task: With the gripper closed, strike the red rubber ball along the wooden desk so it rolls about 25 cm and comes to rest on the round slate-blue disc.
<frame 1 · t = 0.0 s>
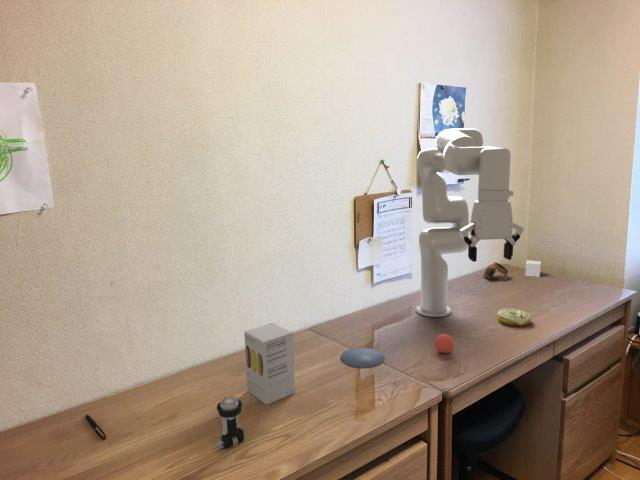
hand: (490, 259, 130), 31 cm above the table, tool pointing down, fingers open, 9 cm apart
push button: (229, 445, 105), on the table
white cube: (532, 275, 224), on the table
ball: (444, 343, 146), on the table
supplement box: (271, 392, 126), on the table
fountain pen: (95, 428, 113), on the table
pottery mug: (493, 279, 219), on the table
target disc: (362, 357, 144), on the table
decorated donut: (513, 322, 169), on the table
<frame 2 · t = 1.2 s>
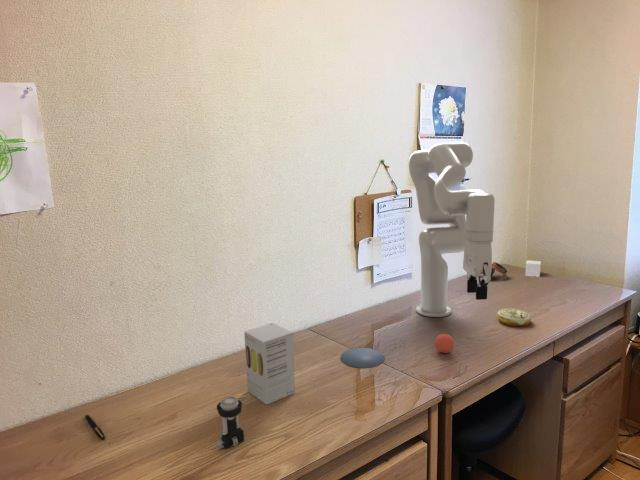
hand: (476, 295, 144), 17 cm above the table, tool pointing down, fingers open, 5 cm apart
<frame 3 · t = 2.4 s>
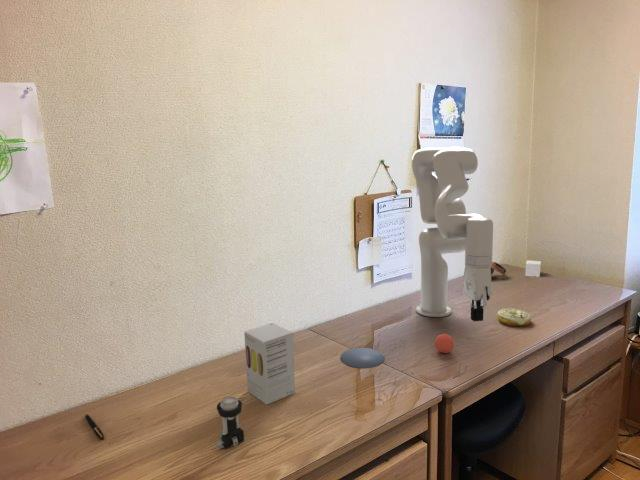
hand: (476, 320, 145), 10 cm above the table, tool pointing down, fingers closed
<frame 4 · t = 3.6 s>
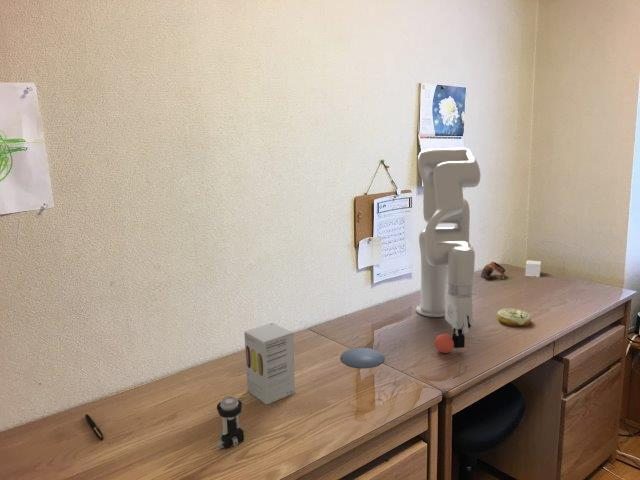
hand: (458, 346, 146), 2 cm above the table, tool pointing down, fingers closed
ball: (444, 343, 146), on the table, touching gripper
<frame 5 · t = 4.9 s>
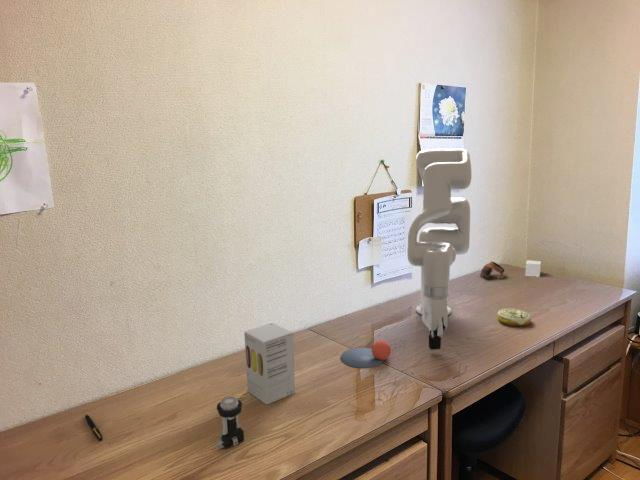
hand: (434, 348, 146), 2 cm above the table, tool pointing down, fingers closed
ball: (381, 350, 143), on the table
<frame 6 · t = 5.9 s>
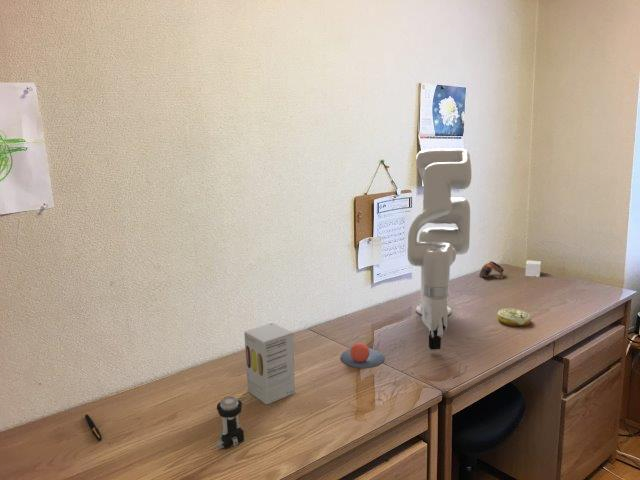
hand: (434, 348, 146), 2 cm above the table, tool pointing down, fingers closed
ball: (359, 352, 141), on the table
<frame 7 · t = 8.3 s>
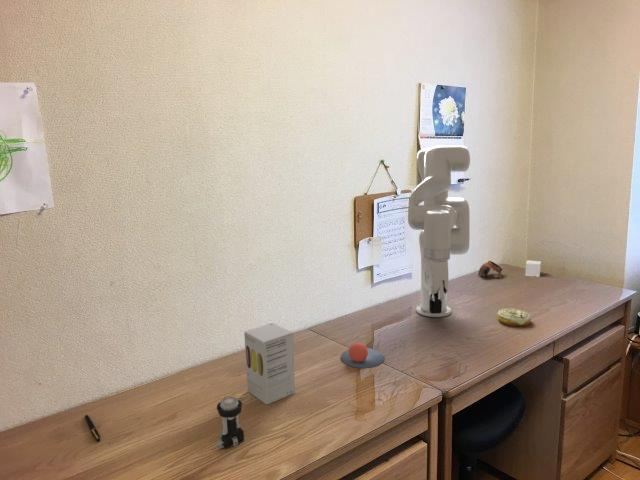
hand: (435, 312, 144), 13 cm above the table, tool pointing down, fingers closed
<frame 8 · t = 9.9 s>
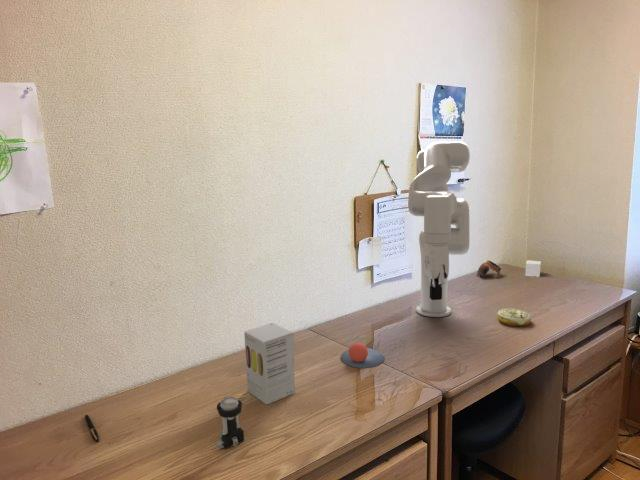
hand: (435, 298, 143), 17 cm above the table, tool pointing down, fingers closed
at the end: ball 2.8 cm from the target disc (horizontally); ball at rest at the end (0.0 cm/s); ball moved 26.8 cm from its start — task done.
